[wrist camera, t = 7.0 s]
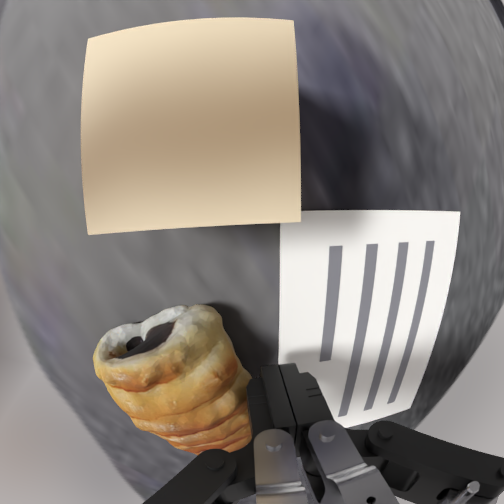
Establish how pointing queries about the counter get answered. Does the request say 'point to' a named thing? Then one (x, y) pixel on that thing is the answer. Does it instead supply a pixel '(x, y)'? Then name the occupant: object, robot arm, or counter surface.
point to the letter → (364, 303)
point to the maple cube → (191, 126)
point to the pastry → (178, 378)
